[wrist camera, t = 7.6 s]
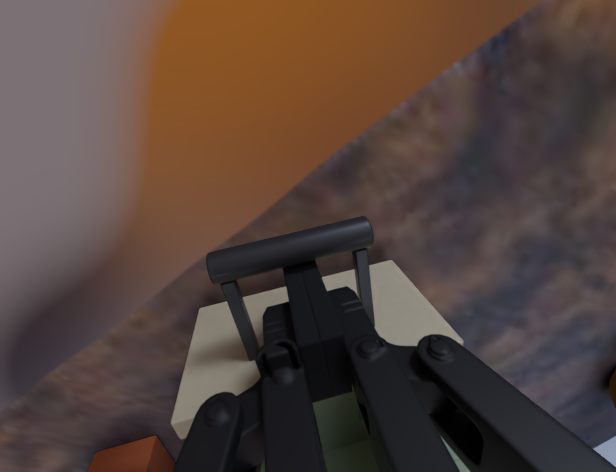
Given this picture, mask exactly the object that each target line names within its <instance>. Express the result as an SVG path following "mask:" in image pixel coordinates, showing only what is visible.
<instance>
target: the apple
mask: <svg viewBox="0 0 616 472" xmlns="http://www.w3.org/2000/svg"><path fill="white" fill-rule="evenodd" d="M609 392H610V395H611V398H612V400H613V403H614V405H615V408H616V369H615V371H614V373H613V374H612V376H611V378H610V383H609Z"/></svg>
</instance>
